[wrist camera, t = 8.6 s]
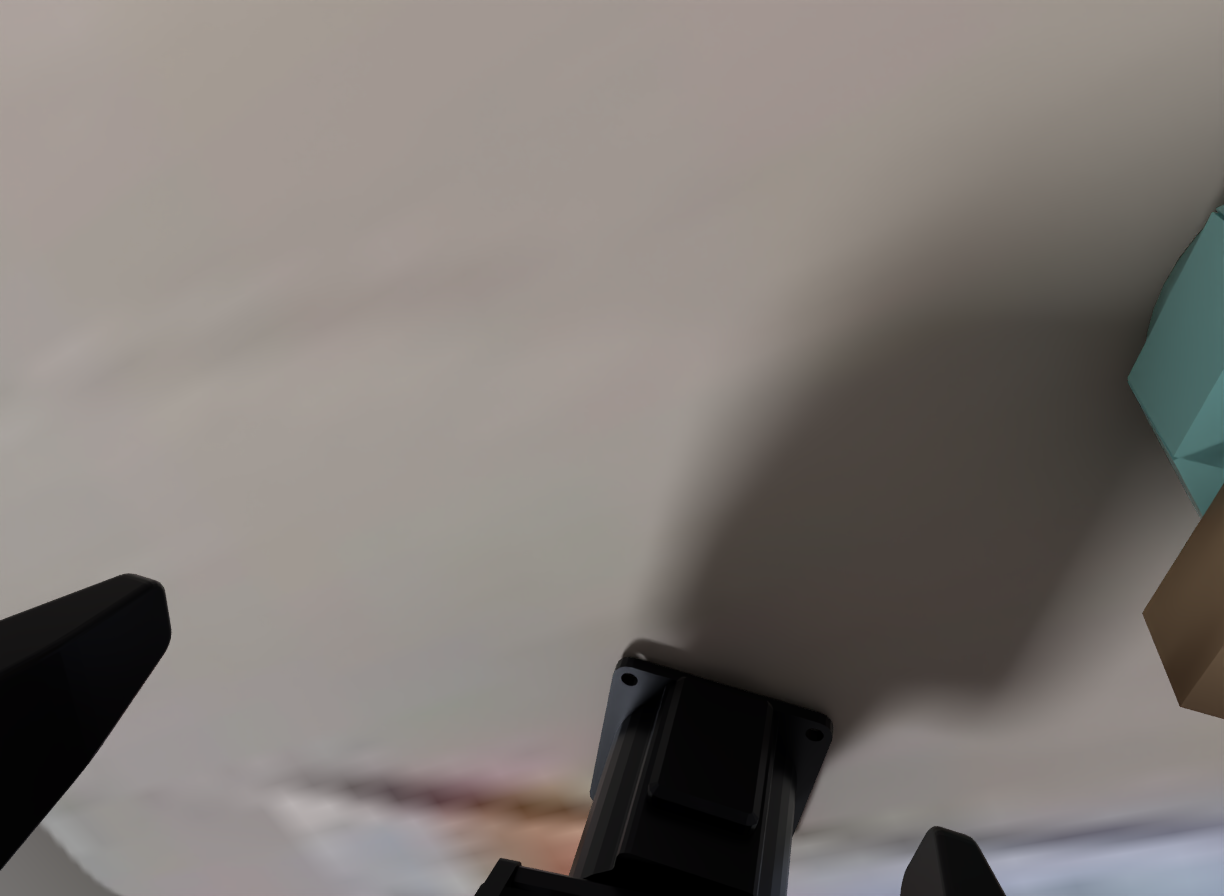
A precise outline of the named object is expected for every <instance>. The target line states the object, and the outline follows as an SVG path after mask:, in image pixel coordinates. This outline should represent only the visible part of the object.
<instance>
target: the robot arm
mask: <svg viewBox="0 0 1224 896" xmlns="http://www.w3.org/2000/svg"><path fill="white" fill-rule="evenodd" d="M170 639H171V624H170V618H169V612H168V606H167V600H166V594H165V590H164V587H163V586H162V585H161V583H160V582H158V581H156V580H153V579H149V578H146V577H143V576H140V575H137V574H129V573H128V574H122V575H119V576H116V577H114V578H111V579H108V580H106V581H103V582H100V583H98V584H95V585H92V586H90V587H87V588H85V589H82V590H79V591H77V592H74V593H71V594H69V595H66V596H63V597H61V598H58V599H55V600H53V601H50V602H47V603H45V604H42V605H40V606H37V607H34V608H32V609H29V610H26V611H24V612H21V613H18V614H16V615H13V616H10V617H8V618H5V619H2V620H0V870H1V869H2V868H3V867H4V866H5V864H6V863H7V862H8V861H9V860H10V858H11V857H12V856H13V855H14V854H15V852H16V851H17V850H18V849H19V848H20V846H21V845H22V844H23V843H24V842H25V840H26V839H27V838H28V837H29V836H30V834H31V833H32V832H33V831H34V830H35V828H36V827H37V826H38V825H39V824H40V822H41V821H42V820H43V819H44V818H45V816H46V815H47V814H48V813H49V811H50V810H51V809H52V808H53V807H54V805H55V804H56V803H57V802H58V801H59V799H60V798H61V797H62V796H63V795H64V793H65V792H66V791H67V790H68V789H69V787H70V786H71V785H72V784H73V783H74V781H75V780H76V779H77V778H78V776H79V775H80V774H81V773H82V771H83V770H84V769H85V768H86V766H87V765H88V764H89V763H90V761H91V760H92V758H93V757H94V756H95V754H96V753H97V752H98V750H99V749H100V747H101V746H102V745H103V743H104V742H105V740H106V739H107V737H108V736H109V734H110V733H111V731H112V730H113V728H114V727H115V726H116V724H117V723H118V721H119V720H120V718H121V717H122V715H123V714H124V712H125V711H126V709H127V708H128V706H129V705H130V703H131V702H132V700H133V699H134V698H135V696H136V695H137V693H138V692H139V690H140V689H141V687H142V686H143V684H144V683H145V681H146V680H147V678H148V677H149V675H150V674H151V673H152V671H153V670H154V668H155V667H156V665H157V664H158V662H159V661H160V659H161V658H162V656H163V655H164V653H165V652H166V650H167V648H168V645H169V643H170ZM627 673H631V674H633V675H635V676H636V677H635V676H630V675H628V674H627ZM811 728H814V729H818V730H819V731H814V730H811ZM832 734H833V724H832V721H831V719H829V718H828V717H827V716H826V715H824V714H822V713H819V712H816V711H813V710H809V709H806V708H802V707H799V706H796V705H792V704H789V703H786V702H782V701H779V700H775V699H772V698H769V697H765V696H762V695H758V694H755V693H752V692H748V691H745V690H741V689H738V688H735V687H731V686H728V685H724V684H721V683H718V682H714V681H711V680H708V679H704V678H701V677H697V676H694V675H691V674H687V673H684V672H680V671H677V670H674V669H670V668H667V667H663V666H660V665H657V664H653V663H650V662H647V661H643V660H640V659H636V658H631V657H627V658H623V659H621V660H620V661H618V663H617V665H616V668H615V671H614V674H613V678H612V683H611V688H610V693H609V698H608V703H607V708H606V713H605V718H604V723H603V728H602V733H601V738H600V743H599V748H598V754H597V759H596V764H595V769H594V774H593V779H592V784H591V789H590V797H591V798H592V800H593V803H592V806H591V809H590V812H589V815H588V818H587V822H586V825H585V828H584V831H583V834H582V837H581V840H580V843H579V846H578V849H577V852H576V855H575V858H574V861H573V864H572V867H571V870H570V873H569V876H567V875H563V874H558V873H553V872H548V871H543V870H539V869H534V868H529V867H524V866H522V865H521V862H518V861H513V860H509V859H504V858H500V859H499V860H498V862H497V864H496V865H495V867H494V868H493V870H492V871H491V873H490V875H489V876H488V878H487V879H486V881H485V883H483V884H482V885H481V886H480V888H479V889H478V891H477V892H476V894H475V895H474V896H787V886H788V875H789V864H790V854H791V843H792V837H793V834H794V832H795V829H796V827H797V824H798V822H799V819H800V817H801V815H802V812H803V810H804V807H805V805H806V802H807V800H808V797H809V795H810V793H811V790H812V788H813V785H814V783H815V780H816V778H817V775H818V773H819V771H820V768H821V766H822V763H823V761H824V758H825V756H826V753H827V751H828V749H829V746H830V744H831V741H832ZM900 896H1006V895H1005V893H1004V891H1003V889H1002V888H1001V886H1000V884H999V882H998V880H997V879H996V877H995V875H994V873H993V871H992V870H991V868H990V866H989V864H988V862H987V861H986V859H985V857H984V855H983V853H982V851H981V850H980V848H979V846H978V845H977V843H976V842H975V841H974V840H973V839H972V838H971V837H969V836H967V835H965V834H962V833H959V832H955V831H952V830H949V829H946V828H943V827H940V826H934V827H932V828H930V829H929V830H928V832H927V833H926V835H925V836H924V838H923V840H922V842H921V844H920V845H919V847H918V849H917V851H916V853H915V854H914V856H913V858H912V860H911V862H910V863H909V865H908V867H907V869H906V871H905V874H904V877H903V881H902V886H901V894H900Z"/></svg>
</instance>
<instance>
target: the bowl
mask: <svg viewBox="0 0 1224 896" xmlns="http://www.w3.org/2000/svg"><path fill="white" fill-rule="evenodd" d="M1216 210H1217V212H1218V213H1216V212H1212V213H1211V215H1210V217H1209V219H1208V221H1207V223H1206V225H1205V227H1204V229H1203V230H1202V231H1201V232H1200V233H1199V234H1198V235H1197V236H1196V237H1195V239H1194V240H1193V241H1192V243H1191V244H1190V245H1189V247H1188V248H1187V249H1186V251H1185V252H1184V253H1183V255H1182V256H1181V257H1180V258H1179V260H1178V261H1177V263H1176V265H1175V267H1174V268H1173V270H1172V272H1171V273H1170V275H1169V277H1168V278H1167V280H1166V282H1165V284H1164V286H1163V288H1162V290H1161V293H1160V295H1159V297H1158V300H1157V302H1156V304H1155V307H1154V309H1153V313H1152V317H1151V320H1150V324H1149V328H1148V332H1147V338H1146V343H1145V345H1144V347H1143V349H1142V350H1141V352H1140V354H1139V356H1138V358H1137V360H1136V362H1135V364H1134V366H1133V368H1132V370H1131V372H1130V374H1129V376H1128V378H1127V379H1128V380H1129V381H1127V382H1128V384H1129V386H1130V388H1131V390H1132V391H1133V393H1134V395H1135V397H1136V399H1137V401H1138V403H1139V405H1140V407H1141V408H1142V410H1143V412H1144V414H1145V416H1146V418H1147V420H1148V422H1149V423H1150V425H1151V427H1152V429H1153V431H1154V433H1155V435H1156V437H1157V439H1158V440H1159V442H1160V444H1161V446H1162V448H1163V450H1164V452H1165V454H1166V455H1167V457H1168V459H1169V461H1170V463H1171V465H1172V467H1173V469H1174V470H1175V472H1176V474H1177V476H1178V478H1179V480H1180V482H1181V484H1182V486H1183V487H1184V489H1185V491H1186V493H1187V495H1188V497H1189V499H1190V501H1191V502H1192V504H1193V506H1194V508H1195V510H1196V512H1197V513H1198V515H1199V517H1200V519H1202V517H1203V515H1204V514H1205V512H1206V511H1207V509H1208V507H1209V506H1210V504H1211V503H1212V501H1213V499H1214V498H1215V496H1216V495H1217V493H1218V492H1219V490H1220V488H1221V487H1222V485H1223V484H1224V205H1222V206H1220V207H1218V208H1216Z"/></svg>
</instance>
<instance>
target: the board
mask: <svg viewBox="0 0 1224 896" xmlns="http://www.w3.org/2000/svg"><path fill="white" fill-rule="evenodd" d="M1142 614H1143V616H1144V619H1145V621H1146V624H1147V626H1148V629H1149V631H1150V634H1151V636H1152V639H1153V641H1154V643H1155V646H1156V648H1157V651H1158V653H1159V656H1160V658H1161V661H1162V663H1163V666H1164V668H1165V671H1166V673H1167V676H1168V678H1169V681H1170V683H1171V686H1172V688H1173V691H1174V693H1175V696H1176V698H1177V701H1178V703H1179V706H1180V707H1183V708H1186V709H1190V710H1194V711H1197V712H1201V713H1204V714H1208V715H1211V716H1215V717H1218V718H1222V719H1224V484H1223V485H1222V487H1221V488H1220V490H1219V492H1218V493H1217V495H1216V496H1215V498H1214V499H1213V501H1212V503H1211V504H1210V506H1209V507H1208V509H1207V511H1206V512H1205V514H1204V515H1203V517H1202V519H1201V520H1200V522H1199V523H1198V525H1197V527H1196V528H1195V530H1194V531H1193V533H1192V535H1191V536H1190V538H1189V539H1188V541H1187V543H1186V544H1185V546H1184V547H1183V549H1182V551H1181V552H1180V554H1179V555H1178V557H1177V558H1176V560H1175V562H1174V563H1173V565H1172V566H1171V568H1170V570H1169V571H1168V573H1167V574H1166V576H1165V578H1164V579H1163V581H1162V582H1161V584H1160V586H1159V587H1158V589H1157V590H1156V592H1155V594H1154V595H1153V597H1152V598H1151V600H1150V602H1149V603H1148V605H1147V606H1146V608H1145V609H1144V611H1143V613H1142Z"/></svg>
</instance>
